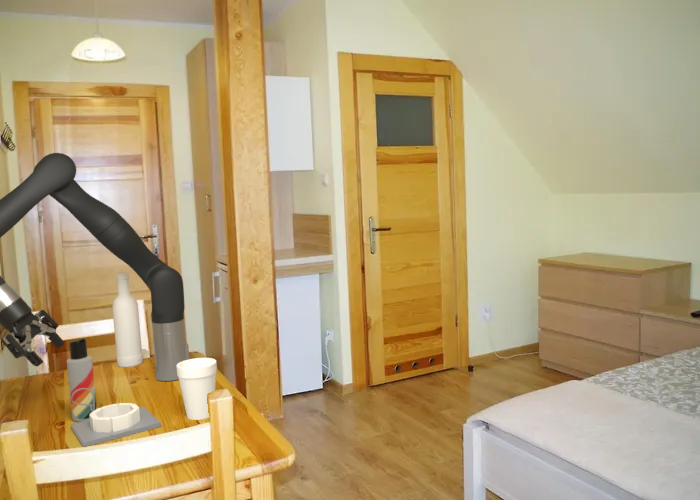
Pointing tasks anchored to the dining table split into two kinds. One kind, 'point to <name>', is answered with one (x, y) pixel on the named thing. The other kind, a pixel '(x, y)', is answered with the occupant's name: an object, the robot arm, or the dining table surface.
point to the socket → (114, 423)
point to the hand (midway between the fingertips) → (50, 355)
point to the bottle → (126, 325)
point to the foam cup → (197, 385)
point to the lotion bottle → (81, 381)
